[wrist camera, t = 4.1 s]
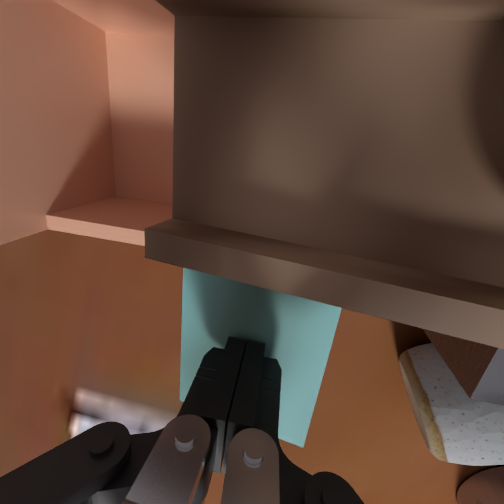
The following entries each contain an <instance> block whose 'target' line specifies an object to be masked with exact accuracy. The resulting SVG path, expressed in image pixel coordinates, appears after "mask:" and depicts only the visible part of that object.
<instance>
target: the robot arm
mask: <svg viewBox="0 0 504 504" xmlns="http://www.w3.org/2000/svg"><path fill="white" fill-rule="evenodd" d="M246 344H247V346H246ZM265 346H266V343H263V342H258V341H253V340H248V342H247V339H242V338H236V337H231V336H229V337H228V340H227V343H226V346H225V348H224V349H222V348H217V347H213V348H212V349H210V350H209V351H208V352H207V353H206V354H205V355H204V357H203V359H202V361H201V364H200V366H199V368H198V371H197V373H196V376H195V377H194V380H193V382H192V384H191V387H190V389H189V391H188V393H187V396H186V398H185V400H184V403H183V405H182V407H181V409H180V412H179V414H178V415H177V417H176V418H174V419H173V420H171V421H170V422H169V423H168V424H167V425H166V426H165V428H163V429H161V430H158V431H155V432H150V433H142V434H133V435H130V434H129V431H128V429H127V428H126V427H125V426H124V425H123V424H121V423H118V422H105V423H101V424H98V425H96V426H94V427H92V428H90V429H88V430H86V431H85V432H83V433H81V434H79V435H77V436H75V437H74V438H72V439H70V440H68V441H66V442H64V443H63V444H61V445H59V446H57V447H55V448H53V449H52V450H50V451H48V452H46V453H44V454H42V455H41V456H39V457H37V458H35V459H33V460H31V461H30V462H28V463H26V464H24V465H22V466H20V467H19V468H17V469H15V470H13V471H11V472H9V473H8V474H6V475H4V476H2V477H0V504H204V502H205V497H206V495H207V492H208V488H209V484H210V480H211V476H212V472H216V473H220V471H221V466H222V462H223V469H222V474H225V479H224V486H223V492H222V499H221V504H364V503H363V501H362V500H361V499H360V497H359V496H358V495H357V493H356V492H355V491H354V489H353V488H352V487H351V486H350V485H349V483H348V482H346V481H345V480H344V479H343V478H342V477H340V476H338V475H336V474H334V473H331V472H318V473H316V474H314V475H313V476H312V475H310V474H309V473H307V472H306V471H304V470H302V469H301V468H299V467H297V466H296V465H295V464H293V463H292V462H291V461H290V460H289V459H288V458H287V457H286V456H285V454H284V453H283V451H282V449H281V447H280V444H279V439H278V426H279V409H280V392H281V376H282V369H281V367H280V365H279V362H278V360H277V359H274V358H269V357H264V352H265ZM223 458H224V461H223ZM457 503H458V504H504V466H502V467H496V468H491V469H488V470H484V471H481V472H479V473H477V474H475V475H473V476H471V477H470V478H469V479H467V480H466V481H465V482H464V483H463V484H462V485H461V486H460V488H459V490H458V492H457Z"/></svg>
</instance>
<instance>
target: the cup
mask: <svg viewBox="0 0 504 504" xmlns="http://www.w3.org/2000/svg"><path fill="white" fill-rule="evenodd" d="M174 23H175V16H174V15H173V14H172V13H171V12H169V11H168V10H167V9H166V8H164V7H163V6H162V5H161V4H159V3H158V2H157V1H156V0H0V245H2V244H5V243H8V242H11V241H14V240H17V239H20V238H23V237H26V236H29V235H32V234H35V233H38V232H41V231H44V230H47V229H50V230H55V231H61V232H67V233H73V234H79V235H85V236H90V237H96V238H102V239H108V240H114V241H119V242H125V243H131V244H137V245H143V246H145V233H144V229H145V228H148V227H150V226H153V225H155V224H158V223H161V222H163V221H166V220H168V219H171V218H172V213H173V118H174Z"/></svg>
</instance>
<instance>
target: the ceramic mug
mask: <svg viewBox="0 0 504 504" xmlns="http://www.w3.org/2000/svg"><path fill="white" fill-rule="evenodd" d="M399 365H400V369H401V373H402V376H403V380H404V383H405V387H406V390H407V393H408V396H409V399H410V402H411V405H412V408H413V411H414V414H415V417H416V420H417V423H418V425H419V428H420V431H421V433H422V436H423V438H424V440H425V443H426V445H427V447H428V449H429V451H430V452H431V453H432V454H433V455H434V456H435V457H436V458H438V459H440V460H442V461H445V462H450V463H456V464H462V465H471V466H487V465H504V406H502V405H497V404H492V403H487V402H482V401H478V400H473V399H470V398H469V397H468V395H467V394H466V393H465V391H464V390H463V388H462V387H461V385H460V384H459V382H458V381H457V379H456V378H455V376H454V375H453V373H452V372H451V370H450V369H449V367H448V366H447V364H446V363H445V361H444V360H443V359H442V357H441V356H440V354H439V353H438V351H437V350H436V348H435V347H434V345H433V344H432V343H429V344H424V345H419V346H416V347H413V348H410V349H408V350H406V351H404V352H403V353H402V354H401V355H400V358H399Z"/></svg>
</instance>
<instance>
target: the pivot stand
mask: <svg viewBox="0 0 504 504" xmlns="http://www.w3.org/2000/svg"><path fill="white" fill-rule="evenodd" d="M423 330H424V332H425V333H426V335H427V336H428V338H429V339H430V341H431V342H432V344H433V345H434V347H435V348H436V350H437V351H438V353H439V354H440V356H441V357H442V359H443V360H444V361H445V363H446V364H447V366H448V367H449V369H450V370H451V372H452V373H453V375H454V376H455V378H456V379H457V381H458V382H459V384H460V385H461V387H462V388H463V390H464V391H465V393H466V394H467V395H468V397H469V398H470V399H473V400H478V401H482V402H487V403H492V404H497V405H502V406H504V349H501V348H497V347H493V346H489V345H485V344H481V343H477V342H473V341H469V340H466V339H462V338H458V337H454V336H450V335H446V334H442V333H438V332H434V331H430V330H426V329H423Z"/></svg>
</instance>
